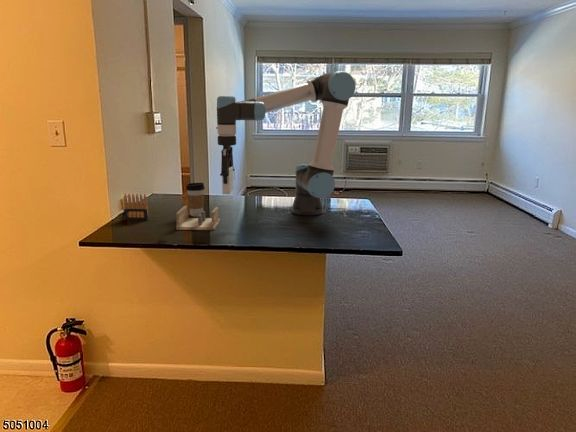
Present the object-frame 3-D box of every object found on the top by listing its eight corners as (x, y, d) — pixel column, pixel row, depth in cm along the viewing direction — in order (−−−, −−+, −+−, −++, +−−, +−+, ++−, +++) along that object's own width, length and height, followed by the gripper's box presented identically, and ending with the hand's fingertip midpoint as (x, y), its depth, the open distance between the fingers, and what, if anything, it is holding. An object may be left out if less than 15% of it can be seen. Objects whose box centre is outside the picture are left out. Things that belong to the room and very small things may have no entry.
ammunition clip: (149, 219, 200) (147, 193, 197) (148, 220, 198) (146, 194, 195) (126, 218, 200) (123, 192, 197) (124, 219, 198) (122, 193, 195)
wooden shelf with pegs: (220, 220, 197) (219, 205, 195) (214, 230, 184) (213, 213, 182) (184, 220, 198) (184, 205, 196) (176, 229, 184) (175, 213, 182)
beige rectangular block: (233, 189, 191) (232, 166, 188) (229, 194, 181) (229, 170, 179) (226, 189, 191) (225, 166, 188) (222, 194, 181) (221, 170, 179)
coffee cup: (201, 217, 202) (200, 185, 198) (184, 216, 204) (182, 184, 200) (208, 213, 210) (207, 182, 206) (191, 212, 212) (190, 181, 208)
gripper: (222, 133, 191) (223, 183, 197) (212, 137, 169) (214, 194, 175) (239, 133, 191) (240, 183, 197) (231, 137, 169) (233, 194, 175)
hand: (227, 188), depth 186 cm, fingers closed on beige rectangular block, 10 cm apart
